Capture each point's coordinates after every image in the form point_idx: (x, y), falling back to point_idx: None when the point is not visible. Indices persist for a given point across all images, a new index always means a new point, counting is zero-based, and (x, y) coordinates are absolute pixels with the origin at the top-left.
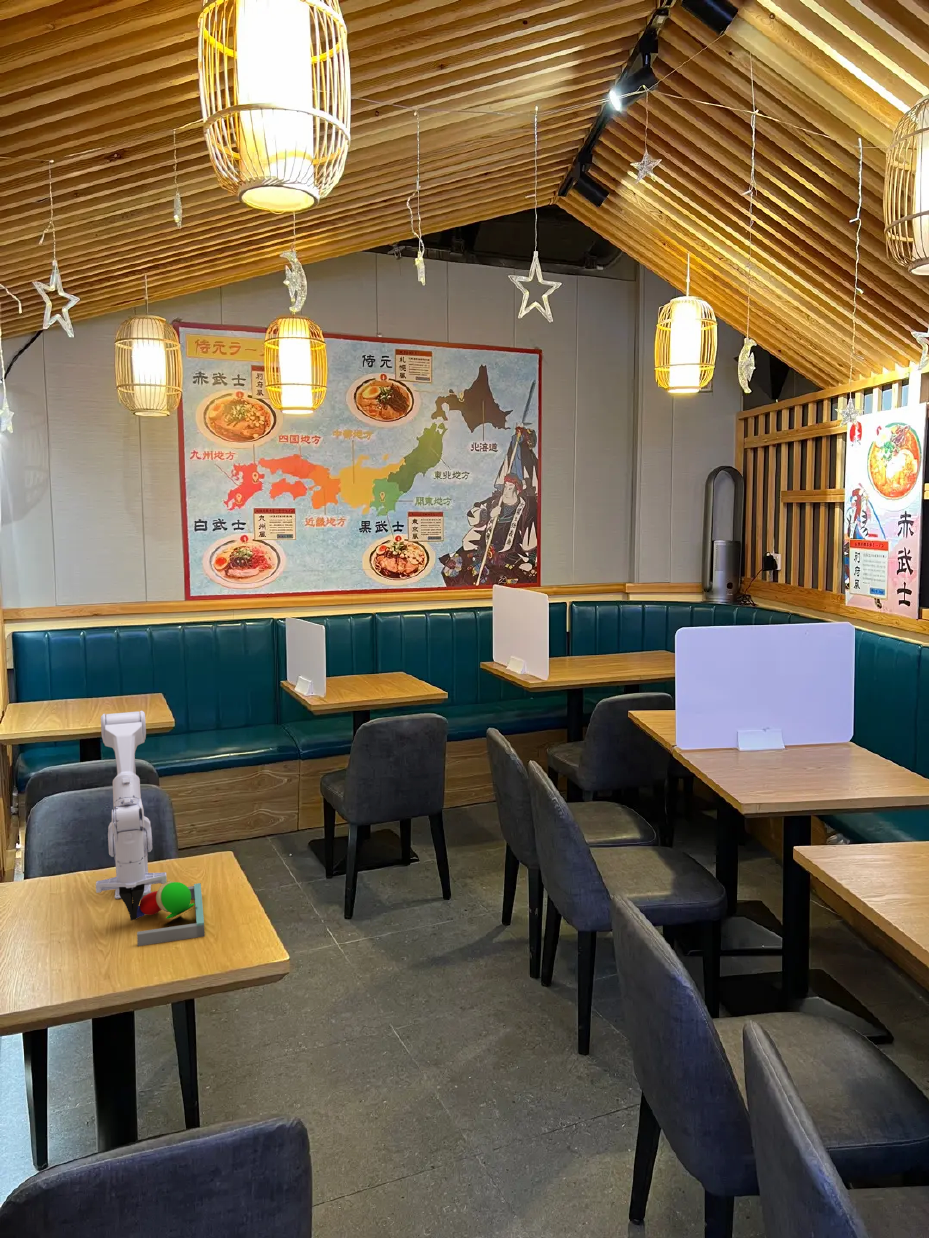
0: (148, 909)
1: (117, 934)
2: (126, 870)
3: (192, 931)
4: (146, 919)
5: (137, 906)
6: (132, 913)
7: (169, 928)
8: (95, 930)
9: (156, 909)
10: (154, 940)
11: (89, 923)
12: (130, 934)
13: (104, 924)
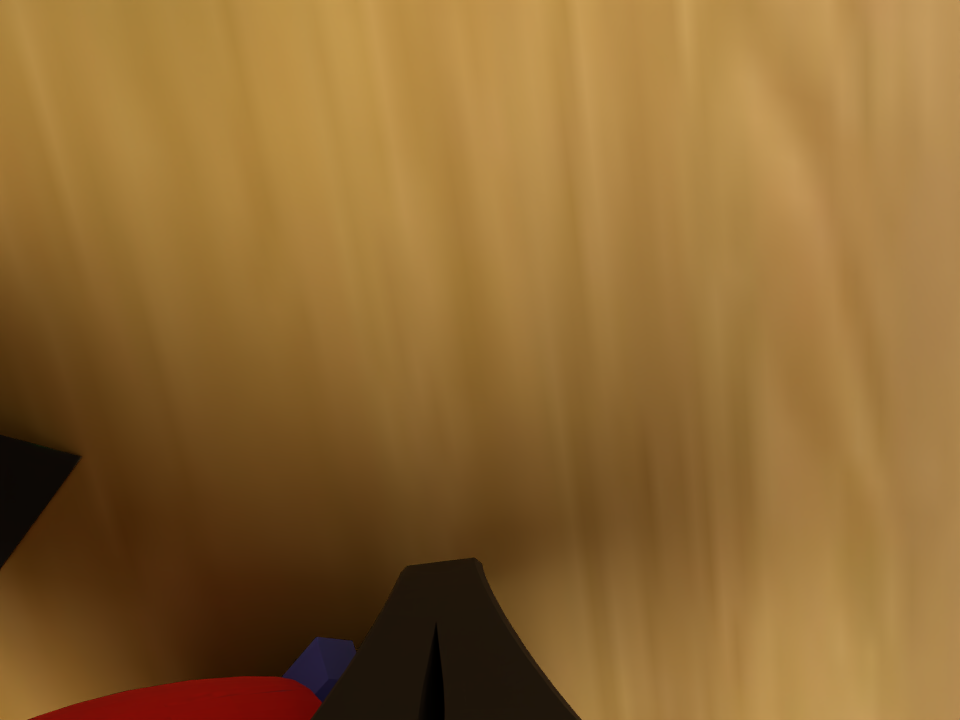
0: (183, 699)
1: (614, 326)
2: None
3: None
4: None
5: (329, 705)
6: (445, 607)
7: None
8: (874, 500)
9: (65, 707)
10: None
11: (935, 683)
12: (446, 283)
13: (782, 631)
